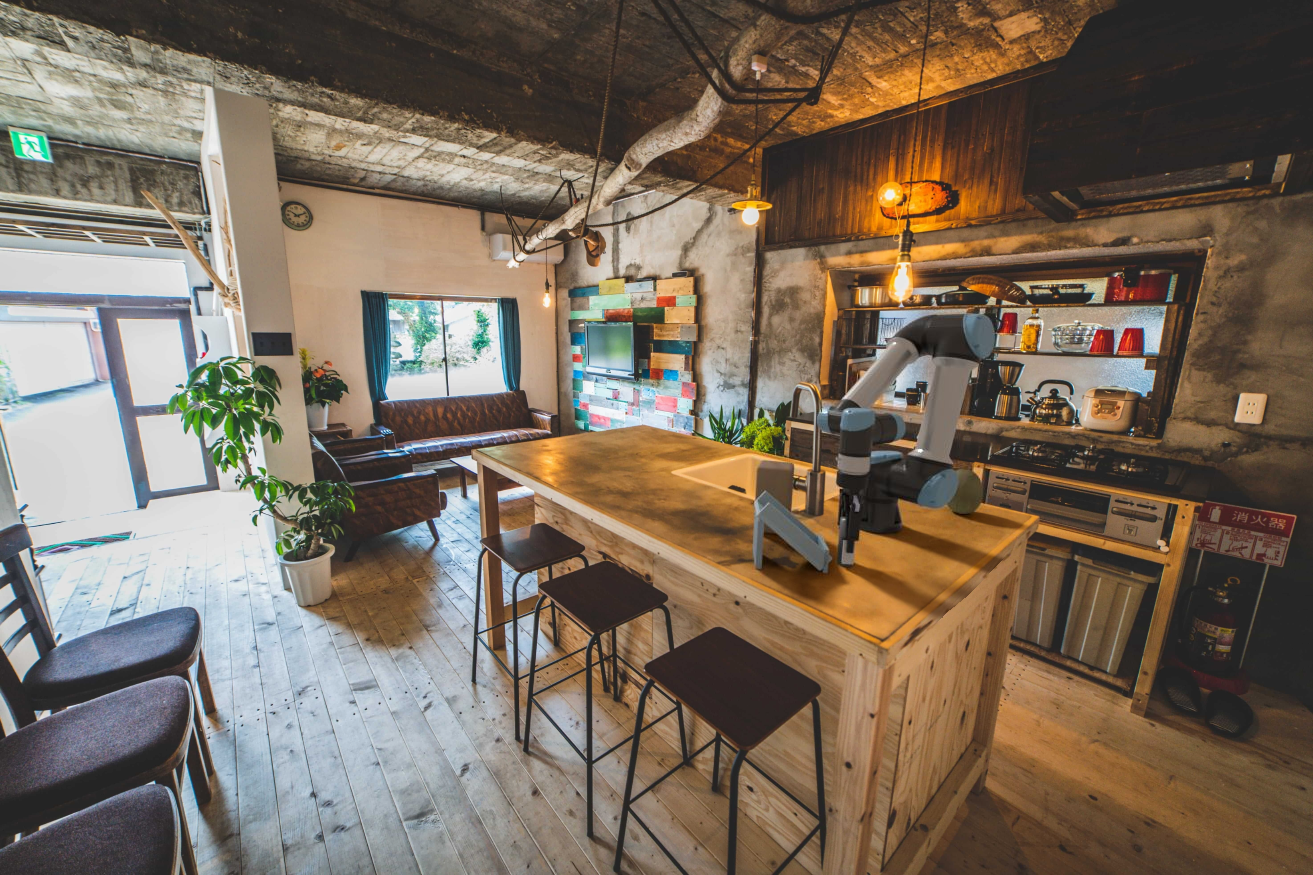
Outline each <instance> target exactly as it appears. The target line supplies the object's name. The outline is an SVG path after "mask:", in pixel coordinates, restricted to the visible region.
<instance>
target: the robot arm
mask: <svg viewBox="0 0 1313 875" xmlns="http://www.w3.org/2000/svg"><path fill="white" fill-rule="evenodd" d="M995 342H996V335H995V328H994V325H993V323H992V320H991V319H990V317H989V316H987V315H986V314H982V313H971V312H967V313H949V314H947V313H946V314H936V313H935V314H927V315H924V316H921V317H919V318H917V319H914V320H912V321H911V322H909V323H908V324H906V325H904V326H903V327H902V328H900V329H899V330H898V331H897V332H896V333H894V335H893V336H892V337H891V338H890V339H889V340H888V341H887V343H886V346H885V348H886V349H885V350H884V351H883V352H882V353H881V355H879V356H878V358H877V359H876V360H875V362H873V364H871V365H870V367H869V368H868V369H867V370H866V371H865V372H864V373H863V374H862V375H861V377H860V378H859V379H858V380H857V381H856V382H855V384H853V386H852V387H851V388H850V389H849V390H848V391H847V393H845V395H844V396H843V397H842V398H841V399H840V400H839V401H838V403H837V404H836V405H835V406H834V405H827V406H825V407H824V406H823V407H822V408H821V409H822V412H821V409H820V410H819V412H818V414H817V416H816V420H817V421H816V422H817V423H816V424H817V426H818V428H819V430H821V432H824V433H827V434H831V435H832V436H839V447H838V457H835V461H836V462H837V471H836V476H835V477H836V479H835V484H836V486H837V487H839V490H838V492H839V499H838V512H837V514H838V515H837V526H838V530H839V529H840V518H841V517H843V516H846V528H845V537H842V540H843V552H842V564H853V565H854V564H855V563H854V562H855V551H856V543H857V542H859V541H860V531H861V530H862V531H866V532H869V533H874V534H875V533H877V534H895V533H898V532H901V530H902V528H903V520H902V519H903V518H902V515H901V511H900V507H899V500H900V501H904V502H908V503H911V504H915V505H918V506H919V507H923V508H930V509H933V510H934V509H935V510H936V509H937V510H938V509H942V508H943V507H945V506H947V503H948V502H949V501H950V500H951V499H952V498H953V496H954V494H955V492H956V490H957V487H958V482H959V480H958V478H959V477H958V474H957V473H956V472H955V471H956V470H954V469H953V467H954V462H953V461H952V459H951V457H950V453H951V450H952V446H953V442H954V438H955V434H956V430H957V426H958V423H959V418H960V415H961V412H962V406H963V403H964V400H965V394H966V391H967V387H968V384H969V380H970V375H971V372H972V371H973V370H975V369H976V368H978V367H979V365H980V362H981V359H986V358H989V356H990V355H991V354H992V353H993V350H994V348H995ZM926 356H931V361H932V363H933V365H934V366H935V368H934V372H933V377H932V380H931V385H930V389H929V393H928V396H927V400H926V405H925V408H924V413H923V416H922V421H921V425H920V428H919V430H918V431H919V432H918V436H917V441H916V445H915V448H914V449H913V450H912V451H910V452H908V453H907V456H906V459H905V458H904V454H903V452H900V451H894V450H876V451H875V450H874V451H872V448H873V446H877V445H884V444H892V443H894V442H897V441H899V440H901V439H902V438H903V437H904V435H905V434H906V428H907V427H906V422H905V420H904V419H903V417H902V416H901V415H899V414H898V413H894V412H893V413H889V412H885V413H878V412H875V411H874V410H873V409H871V408H872V407H873V406H874V405H875V403H876V402H877V401H878V400H879V399H880V397H882V396H883V394H884V393H885V392H886V391H887V390H888V388H889V387H890V386H891V385H892V384H893V383H894V382H895V380H896V379H897V378H898V377H899V376H900V375H901V374H902V372H903V371H905V369H906V368H907V367H908V366H909V365H912V364H914V363H915V362H917V361H918V359H919V358H921V357H926Z"/></svg>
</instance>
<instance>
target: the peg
mask: <svg viewBox="0 0 1313 875" xmlns="http://www.w3.org/2000/svg"><path fill="white" fill-rule="evenodd" d="M845 528H846V516H843V517H841V518H840V529H839V528H838V530H839V532H838V540H837V541H838V542H837V552H836V553H837V554H836V555H837V556H836V564H837V565H838V566H841V567H846V568H850V567H853V566H854V563H853V564H842V552H843V540H842V537H845Z"/></svg>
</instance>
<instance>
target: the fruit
mask: <svg viewBox="0 0 1313 875" xmlns="http://www.w3.org/2000/svg"><path fill="white" fill-rule="evenodd" d="M954 471H955V472H956V473H957V474H958V477H959V478H958V480H959V482H958V487H957V490H956V492H955V494H954V496H953V498H952V499H951V500H950V501H949V502H948V503H947V504H946V506H947V508H948V509H950V510H951V511H952V512H954V513H956V514H960V515H968V514H972V513H974V512H975V511H976V510H978V508H979V507H980V506H981V503H982V502H983V497H984V490H983V489H984V488H983V484H982V481H981V479H980V477H979V475H977V473H976V472H975V471H974V470H971V469H967V468H961V469H960V468H959V469H957V470H954Z"/></svg>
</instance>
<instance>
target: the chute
mask: <svg viewBox="0 0 1313 875" xmlns="http://www.w3.org/2000/svg"><path fill="white" fill-rule="evenodd" d="M753 506H754V513H755V515H754V517H753V534H752V535H753V537H752V538H753V539H752V540H753V541H752V557H753V562H754V568H755V570H762V567H763V566H762V565H763V551H764V550H763V549H764V534H765V533H764V523H765V524H767V525H768V526H769V527H770V528H771V529H772V530H774V531H775V532H776V533H777V534H776V535H778V536H779V537H781V539H783V540H784V541H785V543H787V544H788V545H789V546H791V547H792V548H793V549H794V550H795V551H796V552H797V553H799V554H800V555H801V556H802V557H803V558H804V559H805V560H806V561H808V562H809V563H810V564H811V565H813V567H815V568H816V569H817V570H818V571H822V573H823V574H828V571H829V569H828V568H829V563H830V562H831V561H832V560H833V559H834V558H833V557H832V556H831V555H830V549H829V547H828V546H827V543H826V541H825V540H824V537H823V535H822V534H821V533H814V532H813V530H811V529H810V528H809V527H808V526H807V525H806V524H804V523H803V522H802V521H801V520H800V519H799V518H797V516H796V515H794V514H793V513H792V512H791V513H790V512H789V511H788V510H787V509H786V508H785V507H784V506H782V505H781V504H780V503H779V502H778V501H777V500H776V499H774V498H773V497H772V496H771V495H770V494H769V493H768V492H766V491H764V492H763V493H762V494H761V495H760V496H759V498H758V499H757V500H756V501H755V500H754V502H753Z"/></svg>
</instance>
